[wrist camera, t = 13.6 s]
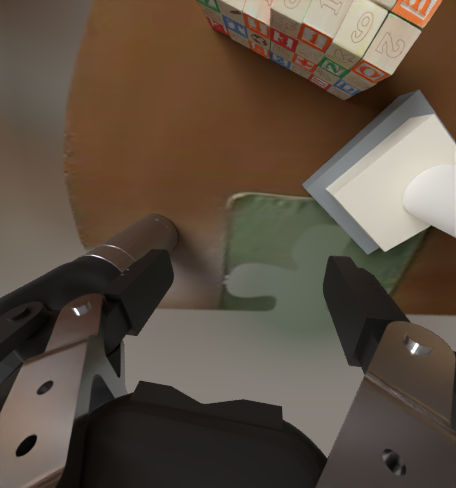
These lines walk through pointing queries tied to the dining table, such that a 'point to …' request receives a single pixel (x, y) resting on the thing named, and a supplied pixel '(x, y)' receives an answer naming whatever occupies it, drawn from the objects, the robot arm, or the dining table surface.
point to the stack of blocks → (326, 36)
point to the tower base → (357, 152)
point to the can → (434, 197)
